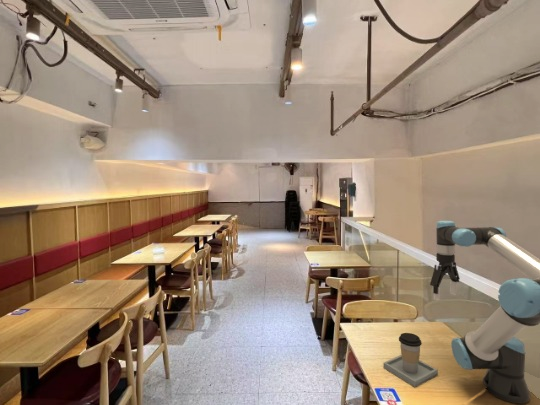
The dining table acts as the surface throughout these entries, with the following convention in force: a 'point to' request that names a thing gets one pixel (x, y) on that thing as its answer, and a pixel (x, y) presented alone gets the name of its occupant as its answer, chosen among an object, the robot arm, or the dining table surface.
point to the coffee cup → (410, 351)
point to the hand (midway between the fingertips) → (445, 297)
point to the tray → (414, 379)
